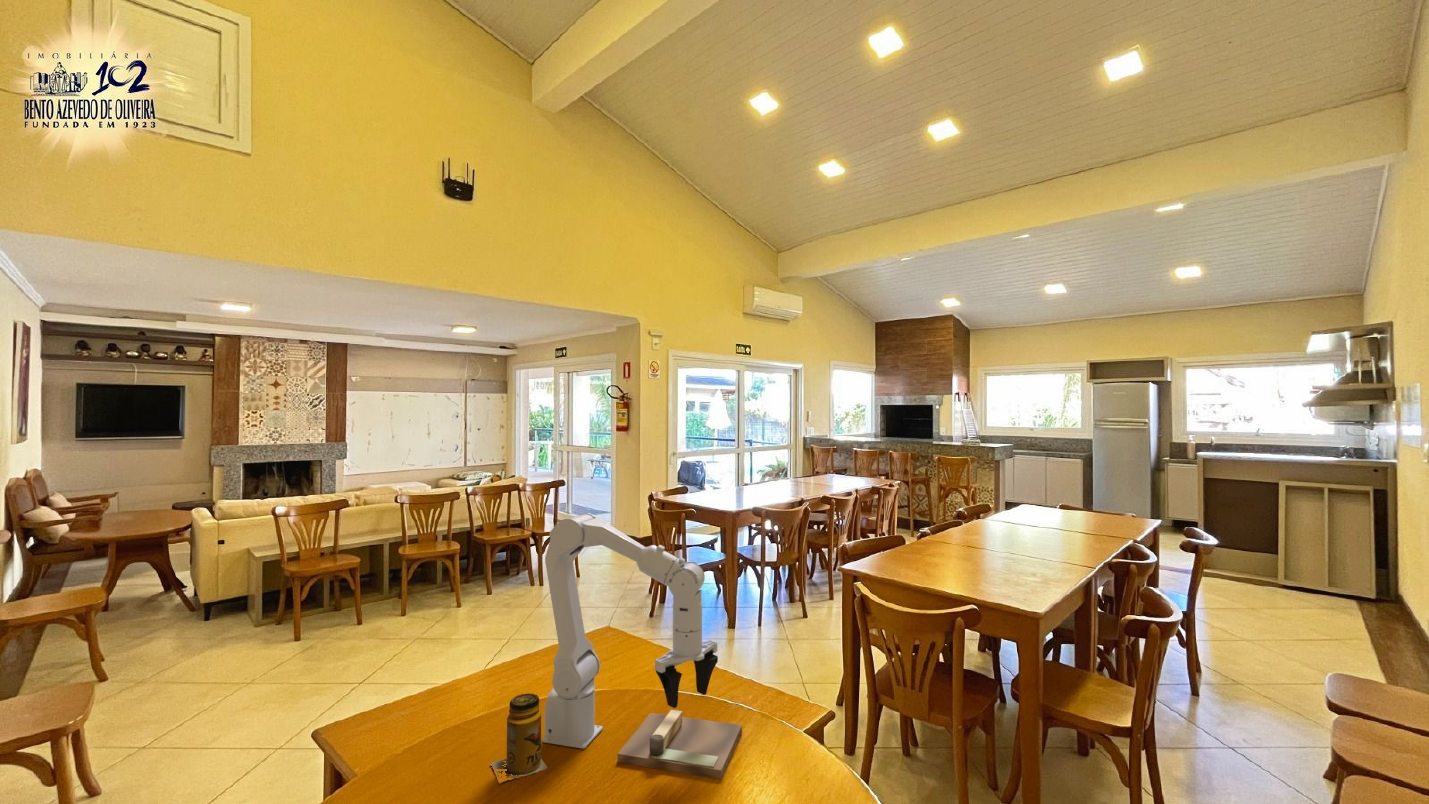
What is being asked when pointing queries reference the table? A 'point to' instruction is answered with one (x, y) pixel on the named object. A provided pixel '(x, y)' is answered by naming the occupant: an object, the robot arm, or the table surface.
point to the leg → (665, 732)
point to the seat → (685, 747)
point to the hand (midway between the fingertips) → (687, 699)
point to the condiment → (523, 738)
